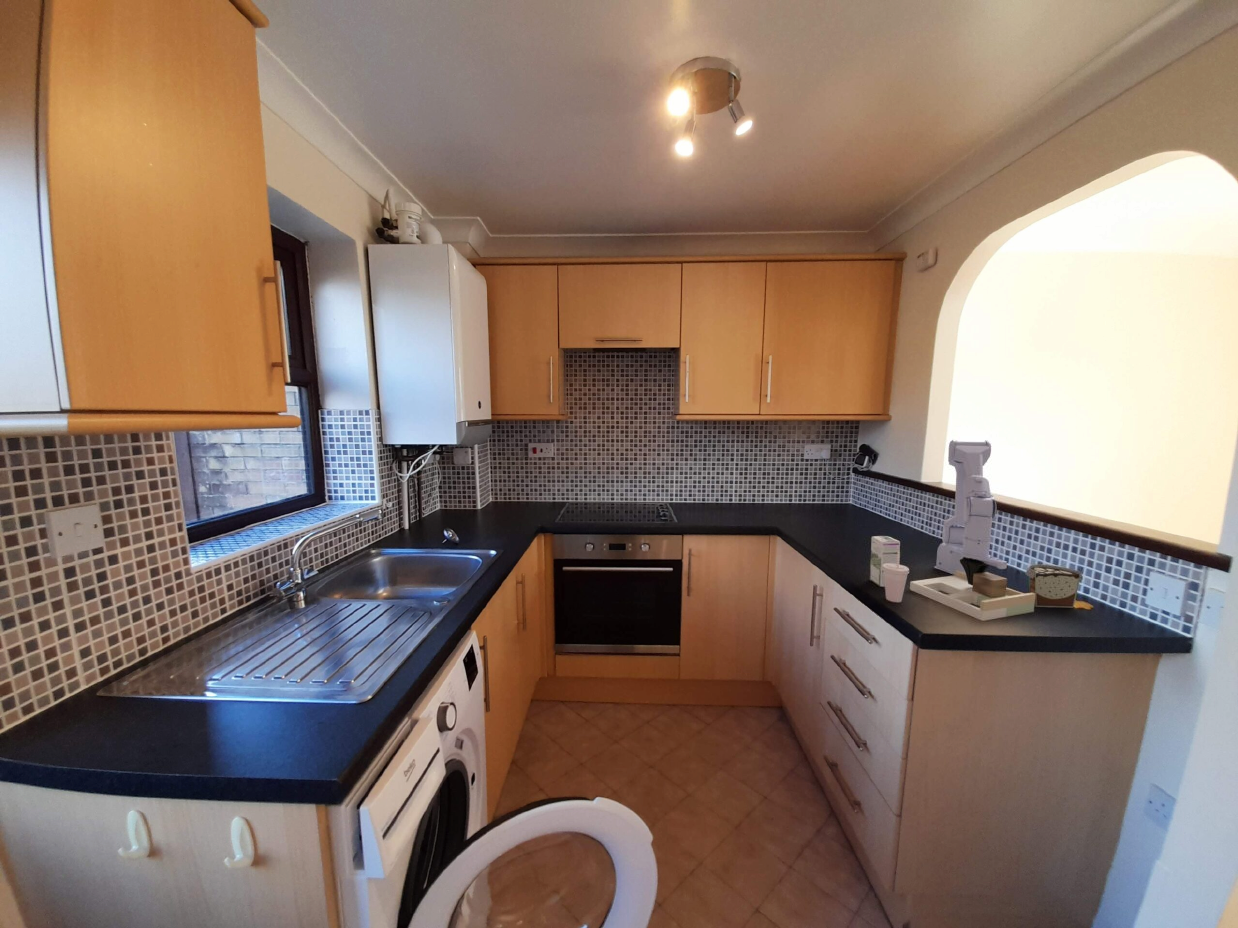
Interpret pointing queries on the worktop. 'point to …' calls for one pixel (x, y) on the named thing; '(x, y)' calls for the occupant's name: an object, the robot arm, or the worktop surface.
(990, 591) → the walnut block
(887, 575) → the smoothie
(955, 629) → the worktop surface
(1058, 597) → the food container
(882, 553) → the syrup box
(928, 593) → the trap deck
